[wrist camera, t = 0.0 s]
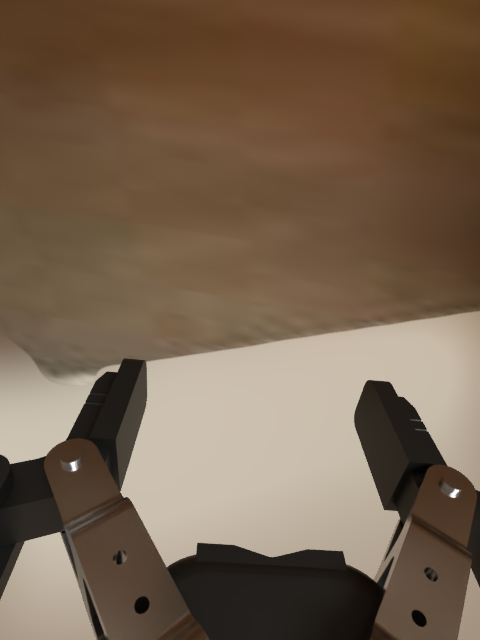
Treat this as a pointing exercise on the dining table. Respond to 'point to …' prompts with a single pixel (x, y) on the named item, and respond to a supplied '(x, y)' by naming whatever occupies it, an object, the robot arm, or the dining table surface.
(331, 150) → the dining table surface
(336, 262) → the dining table surface
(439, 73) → the dining table surface
